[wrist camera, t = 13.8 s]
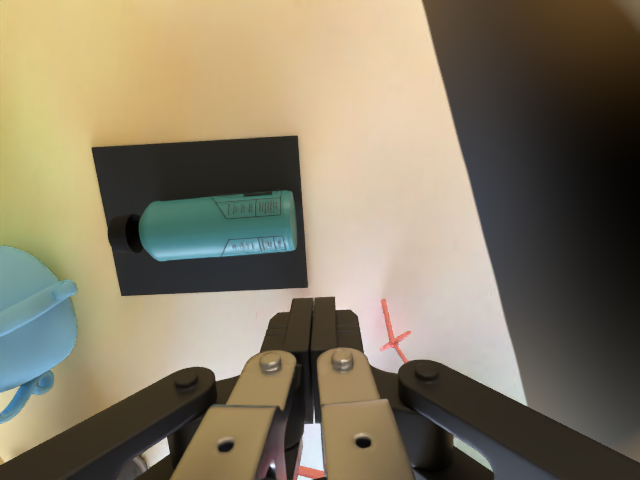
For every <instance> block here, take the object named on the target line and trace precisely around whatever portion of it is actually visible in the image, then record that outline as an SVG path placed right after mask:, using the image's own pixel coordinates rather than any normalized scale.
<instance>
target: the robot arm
mask: <svg viewBox="0 0 640 480" xmlns="http://www.w3.org/2000/svg"><path fill="white" fill-rule="evenodd" d="M314 410H315V423H320V424H321V441H322V455H323V468H324V477H321V478H317V479H313V480H640V463H639V462H637V461H635V460H633V459H631V458H629V457H626V456H625V455H623V454H620V453H619V452H617V451H614V450H612V449H611V448H609V447H607V446H605V445H602V444H601V443H599V442H597V441H595V440H593V439H591V438H589V437H587V436H585V435H583V434H580V433H579V432H577V431H575V430H573V429H571V428H569V427H567V426H565V425H563V424H561V423H559V422H557V421H555V420H553V419H551V418H549V417H547V416H545V415H543V414H541V413H539V412H537V411H535V410H533V409H531V408H529V407H527V406H525V405H523V404H521V403H519V402H517V401H515V400H513V399H511V398H509V397H507V396H505V395H503V394H501V393H499V392H497V391H495V390H493V389H491V388H489V387H487V386H485V385H483V384H481V383H479V382H477V381H475V380H473V379H471V378H469V377H467V376H465V375H463V374H461V373H459V372H457V371H455V370H453V369H451V368H449V367H447V366H445V365H443V364H441V363H438V362H435V361H431V360H413V361H409V362H407V363H405V364H403V365H402V366H401V367H400V369H399V371H398V374H396V373H390V372H385V371H382V370H379V369H377V368H375V367H373V366H371V365H370V364H369V361H368V359H367V357H366V355H365V354H364V350H363V344H362V339H361V333H360V327H359V321H358V316H357V315H356V314H355V313H354V312H352V311H351V310H335V297H317V298H315V300H313V298H294V299H293V300H292V304H291V309H290V312H281V313H277V314H276V315H275V316H274V317H273V318H272V319H270V322H269V325H268V329H267V331H266V336H265V337H264V341H263V344H262V347H261V350H260V353H258V354H256V355H254V356H253V357H251V358H250V359H249V360H248V361H247V363H246V364H245V366H244V368H243V370H242V372H241V374H240V375H239V376H236V377H232V378H229V379H224V380H220V381H215V375H214V373H213V372H212V371H211V370H210V369H207V368H204V367H191V368H186V369H182V370H179V371H177V372H174V373H172V374H171V375H169V376H167V377H165V378H163V379H161V380H159V381H157V382H156V383H154V384H152V385H150V386H148V387H146V388H144V389H142V390H141V391H139V392H137V393H135V394H133V395H131V396H129V397H127V398H126V399H124V400H122V401H120V402H118V403H116V404H114V405H112V406H111V407H109V408H107V409H105V410H103V411H101V412H99V413H97V414H96V415H94V416H92V417H90V418H88V419H86V420H84V421H83V422H81V423H79V424H77V425H75V426H73V427H71V428H69V429H68V430H66V431H64V432H62V433H60V434H58V435H56V436H54V437H53V438H51V439H49V440H47V441H45V442H43V443H41V444H39V445H38V446H36V447H34V448H32V449H30V450H28V451H26V452H24V453H23V454H21V455H19V456H17V457H15V458H13V459H11V460H10V461H8V462H6V463H4V464H2V465H0V480H297V477H298V472H299V466H300V460H301V454H302V449H303V443H302V435H303V432H304V424H313V413H314ZM454 436H455V437H457V438H458V439H460V440H461V441H463V442H464V443H466V444H467V445H469V446H470V447H472V448H474V449H475V450H477V451H478V452H479V453H481V454H482V455H483V456H484V457H485V458H486V459H487V461H488V462H489V463H490V465H491V467H492V469H493V472H494V473H493V472H492V471H490V470H489V469H487V468H486V467H484V466H483V465H481V464H480V463H479V462H477V461H476V460H474V459H473V458H471V457H470V456H468V455H467V454H465V453H464V452H462V451H461V450H459V449H458V448H457V447H455V446H454V445H453V438H454ZM165 437H167V439H168V445H169V450H170V454H169V455H168V456H166V457H165V458H163V459H162V460H161V461H159V462H158V463H156V464H155V465H153V466H152V467H151V468H149V469H147V466H146V464H145V462H144V461H143V459H142V458H141V457H140V456H139V455H140V454H141V453H143V452H144V451H146V450H147V449H149V448H150V447H152V446H153V445H155V444H156V443H158V442H159V441H161V440H162V439H164V438H165Z"/></svg>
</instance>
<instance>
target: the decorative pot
mask: <svg viewBox="0 0 640 480" xmlns="http://www.w3.org/2000/svg"><path fill="white" fill-rule="evenodd" d="M76 293H77V286H76V284H75V283H74V282H73V281H72V280H69V279H67V280H63V281H61V282H60V281H59V280H58V278H57V277H56V276H55V275H54V274H53V273H52V272H51V271H50V269H49V268H47V267H46V266H45V265H44V264H43V263H42V262H41V261H40V260H38V259H37V258H36V257H34V256H33V255H31V254H29V253H27V252H25V251H22V250H20V249H17V248H14V247H10V246H5V245H0V393H1V392H4V391H7V390H10V389H13V388H15V387H17V386H20V385H21V386H20V388H19V389H18V391H17V393H16V394H15V396H14V397H13V399H12V400H11V402H10V403H9V405H8V406H7V407H6V408H5V410H4V411H3V412H1V413H0V424H1V423H4V422H6V421H8V420H10V419H12V418H13V417H14V416H16V415H17V414H18V413H19V412H20V410H21V409H22V408H23V407H24V405H25V404H26V402H27V401H28V399H29V398H30V396H31V394H34V395H40V394H44V393H46V392H47V391H49V390H50V389H51V388H52V386H53V384H54V375H53V373H52V371H51V370H50V369H51V368H53V367H54V366H56V365H57V364H59V363H60V362H61V361H63V360H64V359H65V358H66V357H67V356H68V355H69V354H70V352H71V351H72V349H73V347H74V345H75V342H76V338H77V320H76V315H75V311H74V308H73V305H72V302H71V300H70V298H69V297H70V296H72V295H74V294H76ZM38 382H39V385H38Z"/></svg>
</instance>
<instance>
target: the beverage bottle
mask: <svg viewBox="0 0 640 480" xmlns="http://www.w3.org/2000/svg"><path fill="white" fill-rule="evenodd" d="M278 190H280V189H278ZM278 190H277V191H275V190H274V191H271V192H261V191H259V192H260V193H259V192H258V193H248V194H245V193H247V192H245V193H244V194H237V193H236V195H234V194H233V195H228V194H226V195H224V194H223V195H224V196H223V195H222V196H211V197H202V198H194V199H182V200H171V201H154V202H152V203H150V204H149V206H148V207H147V208H146V209H145V211H144V212H143V214H142V216H141V218H140V216H139V215H137V214H127V215H122V216H116V217H114V218H113V219H112V220H111V221H110V223H109V226H108V239H109V243H110V245H111V247H112V248H113V250H115V251H116V252H118V253H131V254H135V253H140V252H141V251H142V250H143V248H145V250H146V251H147V252H148V253H149V254H150V255H151V256H152V257H153V258H154V259H156V260H158V261H167V260H179V259H193V258H206V257H215V258H216V257H225V256H229V257H230V256H233V257H234V256H235V257H236V256H237V255H240V256H241V255H249V254H255V256H256V254H261V253H274V252H278V253H280V252H281V253H282V252H283V253H285V252H287V251H288V253H289V251H292V250H295V249H296V247H297V222H296V211H295V203H294V197H293V193H292V191H287V190H284V189H283V190H284V191H282V190H281V191H278ZM265 191H268V190H265ZM253 192H257V191H253ZM240 193H242V192H240ZM230 194H231V193H230ZM217 195H218V194H217ZM219 195H220V194H219ZM207 196H208V195H207ZM209 196H210V195H209ZM278 253H277V254H278ZM261 255H265V254H261ZM267 255H269V254H267ZM250 256H251V255H250ZM252 256H253V255H252ZM229 257H228V258H229ZM241 257H243V256H241ZM230 258H232V257H230ZM217 259H219V258H217Z"/></svg>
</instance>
